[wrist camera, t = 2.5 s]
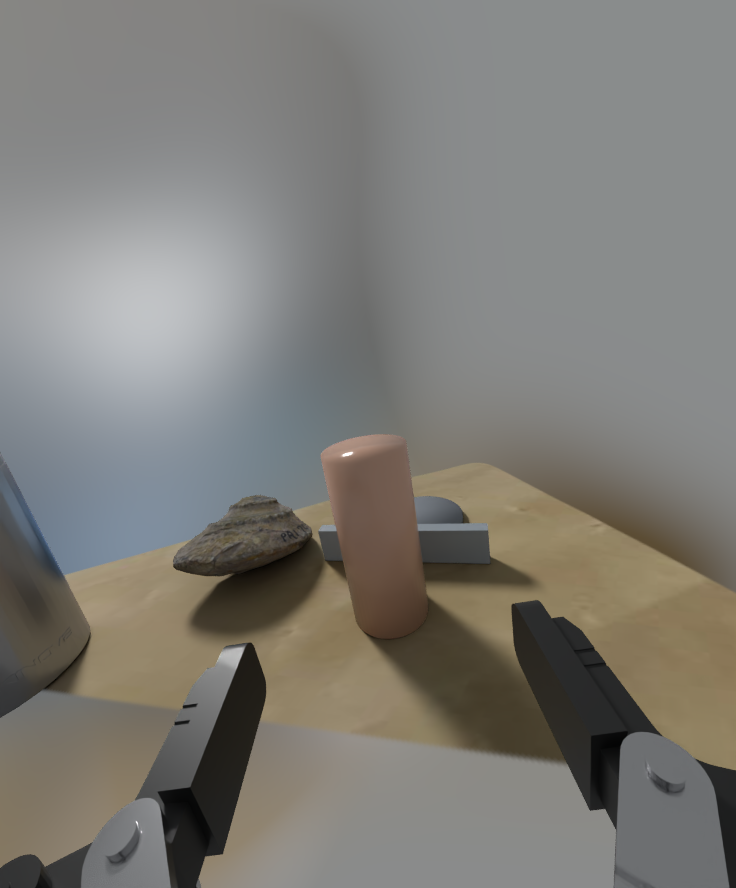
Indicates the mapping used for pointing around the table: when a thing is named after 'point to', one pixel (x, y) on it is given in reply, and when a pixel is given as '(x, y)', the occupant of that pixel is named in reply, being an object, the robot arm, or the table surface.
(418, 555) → the peach rounded cylinder
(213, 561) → the fossilized seashell
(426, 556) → the gray rectangular bar
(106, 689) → the table surface
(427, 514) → the slate coaster
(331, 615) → the table surface
